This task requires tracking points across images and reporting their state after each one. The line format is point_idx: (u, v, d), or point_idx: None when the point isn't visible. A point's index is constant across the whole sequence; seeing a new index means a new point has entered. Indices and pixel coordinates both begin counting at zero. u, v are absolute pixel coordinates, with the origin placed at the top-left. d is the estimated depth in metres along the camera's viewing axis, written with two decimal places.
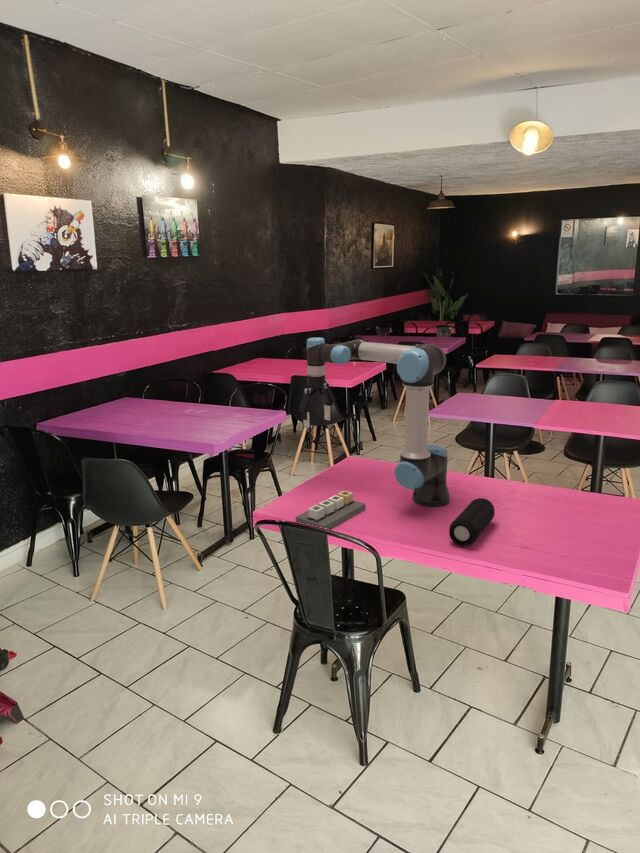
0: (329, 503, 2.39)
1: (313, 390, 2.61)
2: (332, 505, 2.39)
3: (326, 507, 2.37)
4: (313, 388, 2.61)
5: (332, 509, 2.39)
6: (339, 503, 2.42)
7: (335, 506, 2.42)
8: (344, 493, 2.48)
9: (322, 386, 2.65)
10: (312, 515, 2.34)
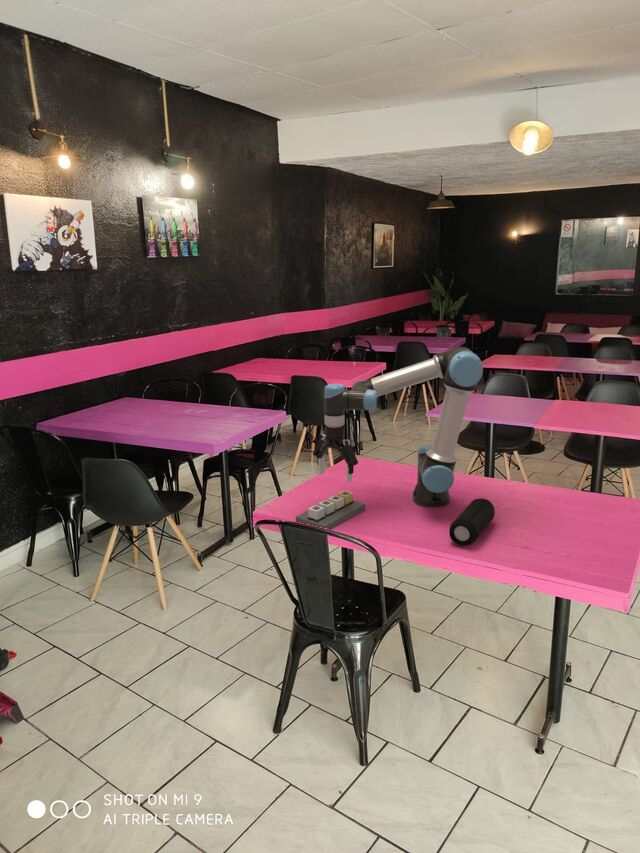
0: (329, 503, 2.39)
1: (326, 439, 2.39)
2: (332, 505, 2.39)
3: (326, 507, 2.37)
4: (326, 437, 2.38)
5: (332, 509, 2.39)
6: (339, 503, 2.42)
7: (335, 506, 2.42)
8: (344, 493, 2.48)
9: (338, 440, 2.35)
10: (312, 515, 2.34)
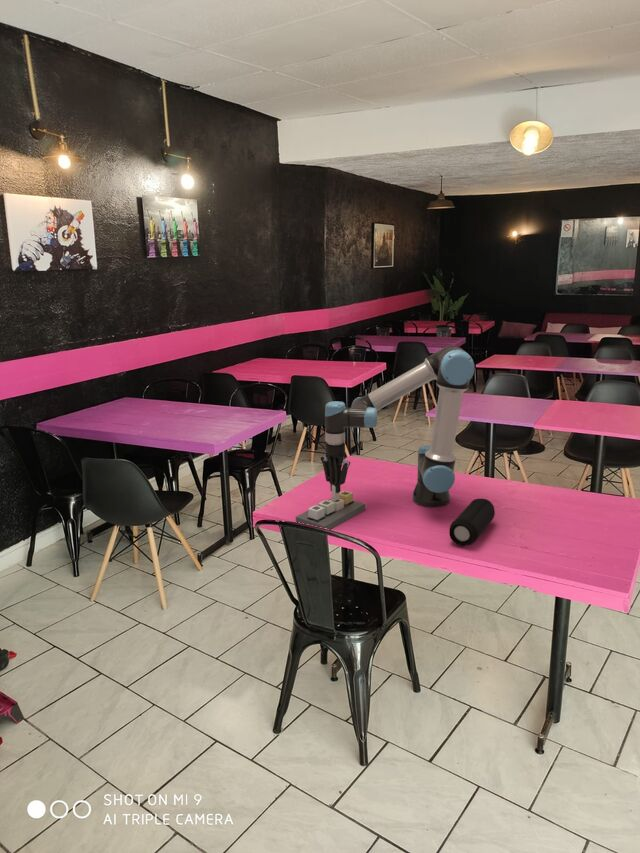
0: (329, 503, 2.39)
1: (327, 456, 2.40)
2: (332, 505, 2.39)
3: (326, 507, 2.37)
4: (327, 454, 2.40)
5: (332, 509, 2.39)
6: (339, 505, 2.42)
7: (335, 508, 2.42)
8: (344, 493, 2.48)
9: (339, 457, 2.36)
10: (312, 515, 2.34)
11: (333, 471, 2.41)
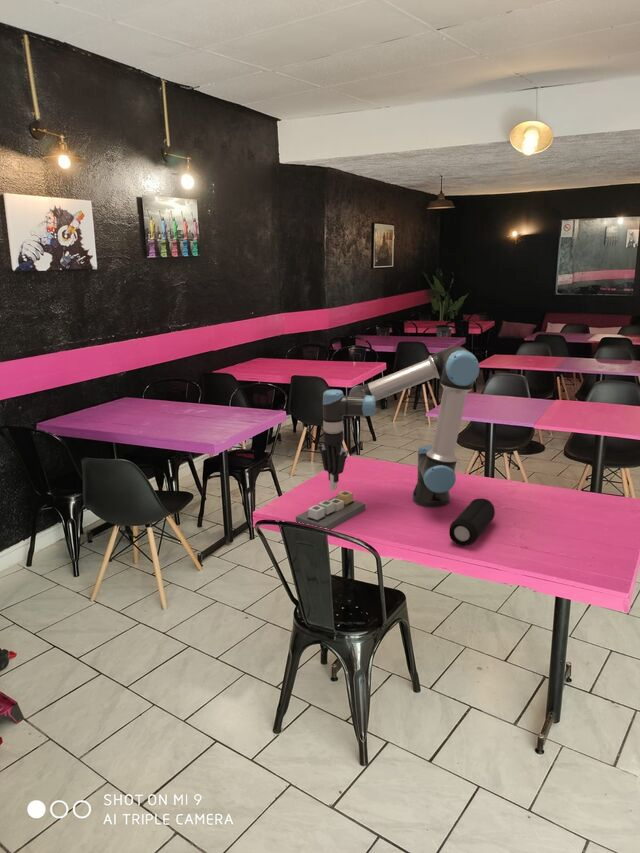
0: (329, 503, 2.39)
1: (325, 445, 2.38)
2: (332, 505, 2.39)
3: (326, 507, 2.37)
4: (325, 443, 2.38)
5: (332, 509, 2.39)
6: (339, 506, 2.43)
7: (335, 509, 2.42)
8: (344, 493, 2.48)
9: (337, 446, 2.34)
10: (312, 515, 2.34)
11: (331, 460, 2.39)
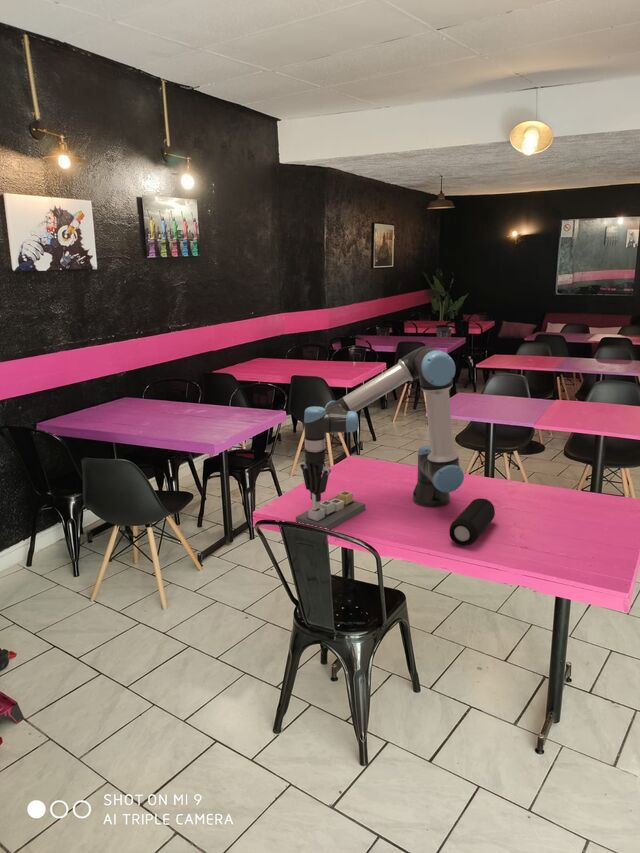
0: (329, 503, 2.39)
1: (307, 463, 2.31)
2: (332, 505, 2.39)
3: (326, 507, 2.37)
4: (307, 461, 2.31)
5: (332, 509, 2.39)
6: (339, 506, 2.43)
7: (335, 509, 2.42)
8: (344, 493, 2.48)
9: (318, 465, 2.27)
10: (312, 517, 2.34)
11: (313, 479, 2.32)
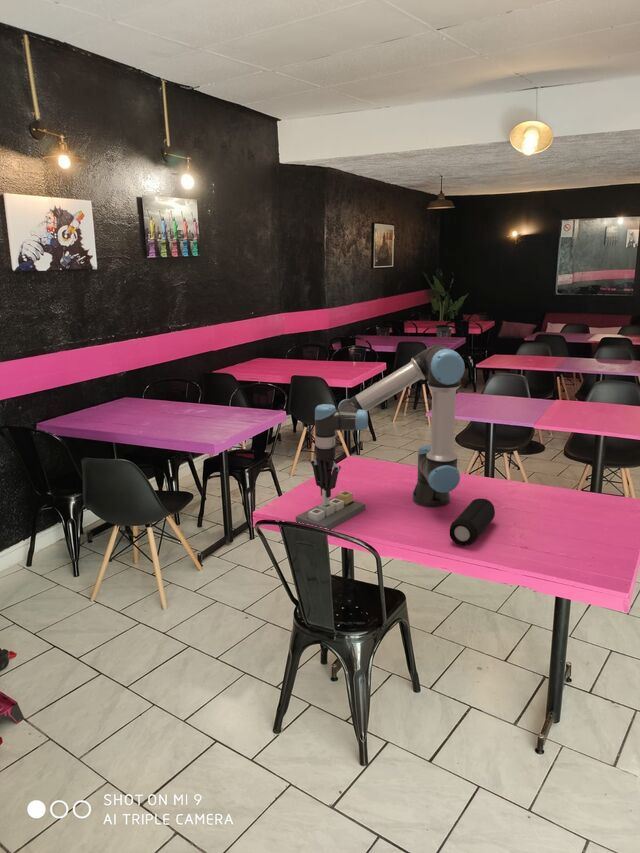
0: (329, 505, 2.39)
1: (317, 460, 2.35)
2: (332, 507, 2.39)
3: (326, 509, 2.37)
4: (317, 458, 2.35)
5: (332, 511, 2.39)
6: (339, 506, 2.43)
7: (335, 509, 2.42)
8: (344, 493, 2.48)
9: (329, 461, 2.32)
10: (312, 519, 2.34)
11: (323, 475, 2.36)
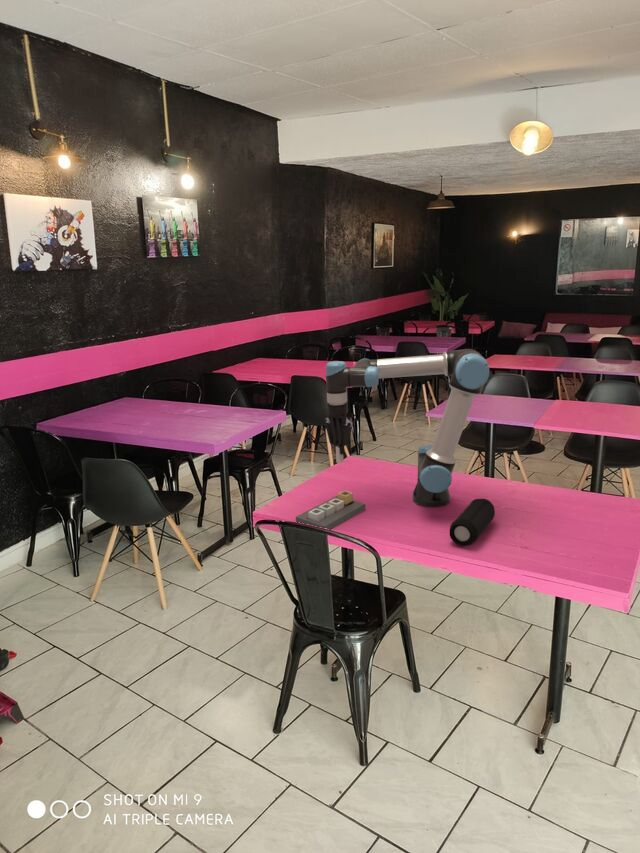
0: (329, 506, 2.39)
1: (330, 417, 2.38)
2: (332, 508, 2.39)
3: (326, 510, 2.37)
4: (329, 415, 2.38)
5: (332, 513, 2.40)
6: (339, 506, 2.43)
7: (335, 509, 2.42)
8: (344, 493, 2.48)
9: (341, 418, 2.34)
10: (312, 519, 2.34)
11: (336, 432, 2.39)
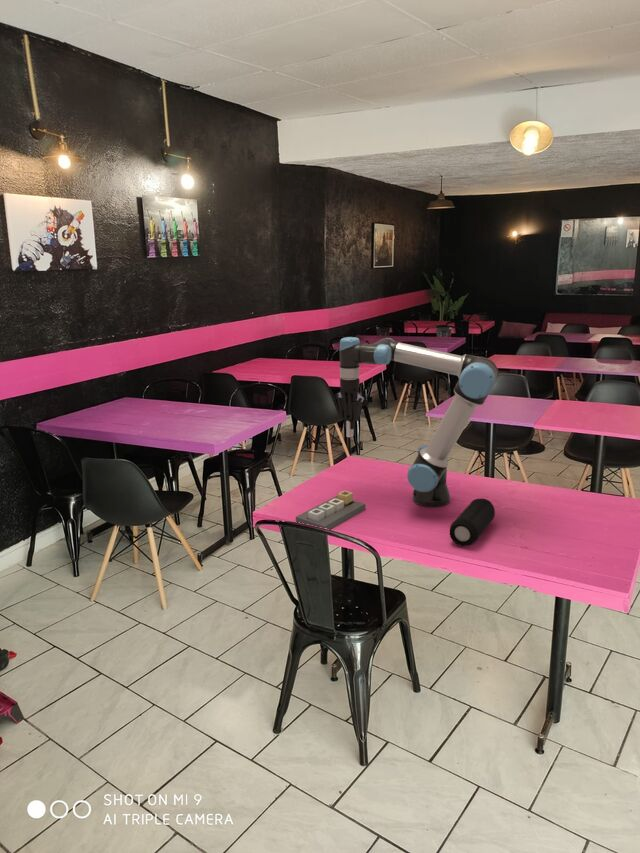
0: (329, 506, 2.39)
1: (342, 392, 2.43)
2: (332, 508, 2.39)
3: (326, 510, 2.37)
4: (341, 390, 2.43)
5: (332, 513, 2.40)
6: (339, 506, 2.43)
7: (335, 509, 2.42)
8: (344, 493, 2.48)
9: (353, 392, 2.40)
10: (312, 519, 2.34)
11: (347, 407, 2.44)
